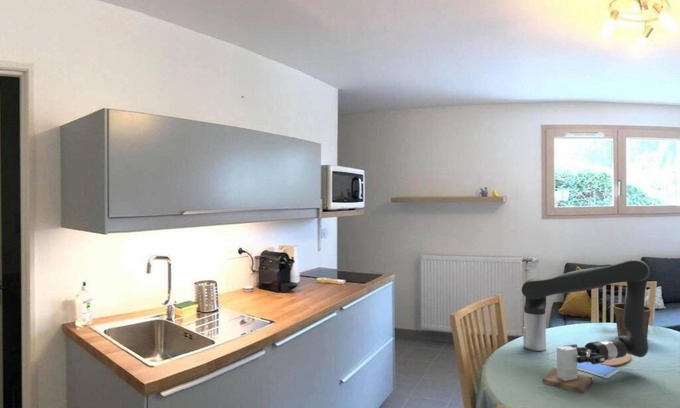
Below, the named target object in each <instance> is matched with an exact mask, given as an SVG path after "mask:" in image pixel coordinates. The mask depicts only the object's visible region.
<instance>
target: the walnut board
mask: <svg viewBox="0 0 680 408" xmlns="http://www.w3.org/2000/svg"><path fill="white" fill-rule="evenodd" d="M592 382H593V376H589V375H585V374H582V373H581V374H580V373H578V372H577V379H574V380H568V381H564V380H562V379H560V378H559V377H557V367H553V368H552V369H551V370H550V371H549V372H548V373H547V374H546V375H545V376H543V378H542V384H547V385H551V386H554V387H558V388H562V389H565V390H568V391H571V392H572V391H573V392H575V393H580V394H584V393H585V391H586V390H587V389H588V388H589V386H590V385H591V384H592Z"/></svg>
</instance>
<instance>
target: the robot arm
mask: <svg viewBox="0 0 680 408" xmlns="http://www.w3.org/2000/svg"><path fill="white" fill-rule="evenodd" d="M650 275H651V269H650V266H649V265H648V264H647V263H646V262H645V261H643V260H641V259H636V258H635V259H633V258H632V259H628V260H625V261H623V262H619V263H616V264H612V265H607V266H602V267H601V266H600V267H599V266H598V267H590V268H583V269H578V270H573V271H568V272H565V273H562V274H559V275H557V276H554V277H550V278H546V279H545V278H544V279H540V278H536V277H534V278H530V279H528V280H527V281H525V282H524V283H523V284H522V287H521V294H522V295H523V296H524V297H525V301H524V302H525V303H524V306H523V309H524V311H523V312H524V314H523V315H524V317H523V318H524V320H523V321H524V327H522V335H523V336H522V339H523V340H522V341H523V342H522V343H523V348H525V349H528V350H530V351H537V352H543V351H545V350H547V329H546V327H547V326H546V321H547V320H546V308H547V297H549V296H553V295H559V294H569V293H570V294H571V293H578V292H584V291H591V290H595V289H598V288H602V287H605V286H608V285H612V284H618V283H626V298H625V302H624V303H625V307H624V318H623V327H624V329H625V330H627V331H629V332H630V333H631V335H632V337H629V336H619V337H618V336H617V337H615V338H613V339H609V340H600V341H599V340H598V341H593V342H592V341H591V342H587V343H585V345H584V346H578V344H574V343H573V344H568V345H567V344H566V345H564V346H571V347H573V348H576V349H577V362H578V363H584V362H587V363H590V362H591V364H603V363H605V361H606V362H607V361H611V360H614V359H621V358H624V357H625V356H627V354H628V355H630V356H633V357H637V358H643V357H645V356H646V355H647V354H648V351H649V344H648V339H647V340H646V336H645V332H644V306H645V297H646V296H645V295H646V289H647V288H646V287H647V283H648V280H649V276H650Z"/></svg>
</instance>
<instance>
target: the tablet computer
mask: <svg viewBox="0 0 680 408" xmlns="http://www.w3.org/2000/svg"><path fill="white" fill-rule="evenodd" d="M602 364H603V363H599V364H591V362H590V363H587V362H584V363H578V362H577V371H578V370H579V371H581V372H585V373H587V374H591V375H595V376H598V377H600V378H604V379H608V378H610V377H612V376H614V375H616V374H618V373H619V372H620V368H617V367H614V366H609V365H606V364H603V365H602Z"/></svg>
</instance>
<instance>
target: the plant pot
mask: <svg viewBox="0 0 680 408" xmlns="http://www.w3.org/2000/svg"><path fill="white" fill-rule="evenodd" d="M624 307H625V302H620V303H619V302H617V303H613V304H612V308H613V313H614V315H615V322H616V331H617V337H619V336H629V337H632V335H631V333H630V332H629V331H627V330H625V329H624V327H623V318H624ZM652 311H653V310H652V308H651V307H649V306H647V305H644V332H645V336H646V340H647V341H648V337H649V336H648V334H649V325H650V324H649V323H650V318H651V312H652Z"/></svg>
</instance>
